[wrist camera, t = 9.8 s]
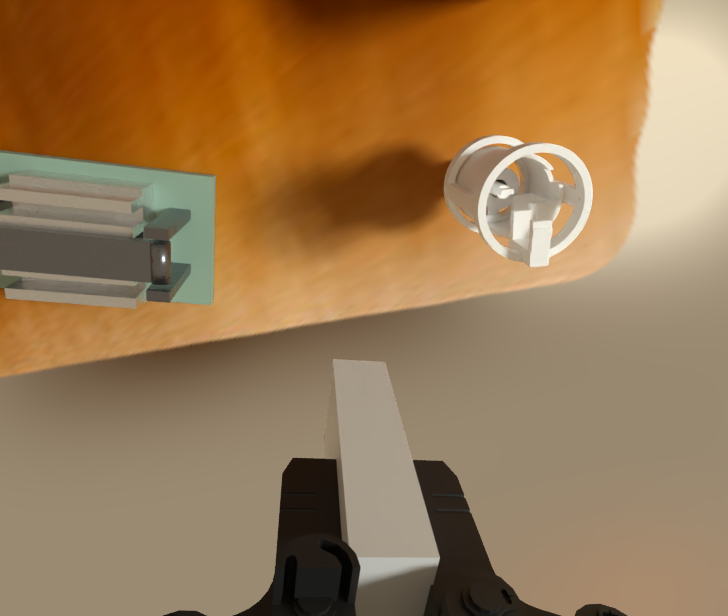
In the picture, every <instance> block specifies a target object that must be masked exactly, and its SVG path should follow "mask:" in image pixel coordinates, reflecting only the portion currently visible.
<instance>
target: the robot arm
mask: <svg viewBox="0 0 728 616" xmlns="http://www.w3.org/2000/svg"><path fill="white" fill-rule="evenodd" d="M324 442H325V459H314V458H293V459H292V460H291V462H290V463H289V465H288V466H287V468H286V469H285V471H284V472H283V474H282V487H281V500H280V513H279V526H278V527H279V528H278V540H277V553H276V566H275V574H274V578H273V582H272V584H271V586H270V588H269V590H268V592H267V593H266V594H265V595H264V596H263V597H262V599H261V600H260V601H259V602H257V603H256V604H255V605H253V606H252V607H251V608H249V609H247V610H245V611H243V612H241V613H239V614H237V615H234V616H560V615H557V614H554V613H550V612H547V611H543V610H540V609H538V608H535V607H533V606H530V605H528V604H526V603H524V602H522V601H521V600H519V598H518V596H517V595H516V593H515V591H514V590H513V588H512V587H510V586H509V585H508V584H507V583H506V582H505V581H504V580H503V579H502V578H500V577H499V576H497V575H495V573H494V570H493V568H492V566H491V563H490V561H489V558H488V555H487V553H486V551H485V548H484V545H483V543H482V540H481V537H480V535H479V532H478V530H477V527H476V524H475V522H474V519H473V517H472V514H471V513H470V511H469V510H470V509H469V506H468V504H467V501H466V499H465V498H464V493H463V491H462V489H461V486H460V483H459V480H458V478H457V476H456V475H455V474H454V473H453V472H452V471H451V470H450V468H449V467H448V466H447V465H446V464H445V463H444V462H443V461H426V460H412V457H411V453H410V449H409V446H408V443H407V439H406V435H405V432H404V428H403V425H402V421H401V417H400V414H399V410H398V407H397V404H396V400H395V396H394V392H393V389H392V385H391V382H390V378H389V375H388V371H387V368H386V364H385V362H375V361H374V362H373V361H357V360H339V359H333V364H332V372H331V382H330V391H329V400H328V409H327V418H326V428H325V436H324ZM164 616H206V615H204V614H201V613H200V612H197V611H176V612H173V613H170V614H167V615H164ZM575 616H627V615H625V614H624V613H622V612H620V611H619V610H617V609H615V608H612V607H608V606H605V605H602V604H589V605H585V606H583V607H582V608H581V609H579V610H577V611H576V614H575Z"/></svg>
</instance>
